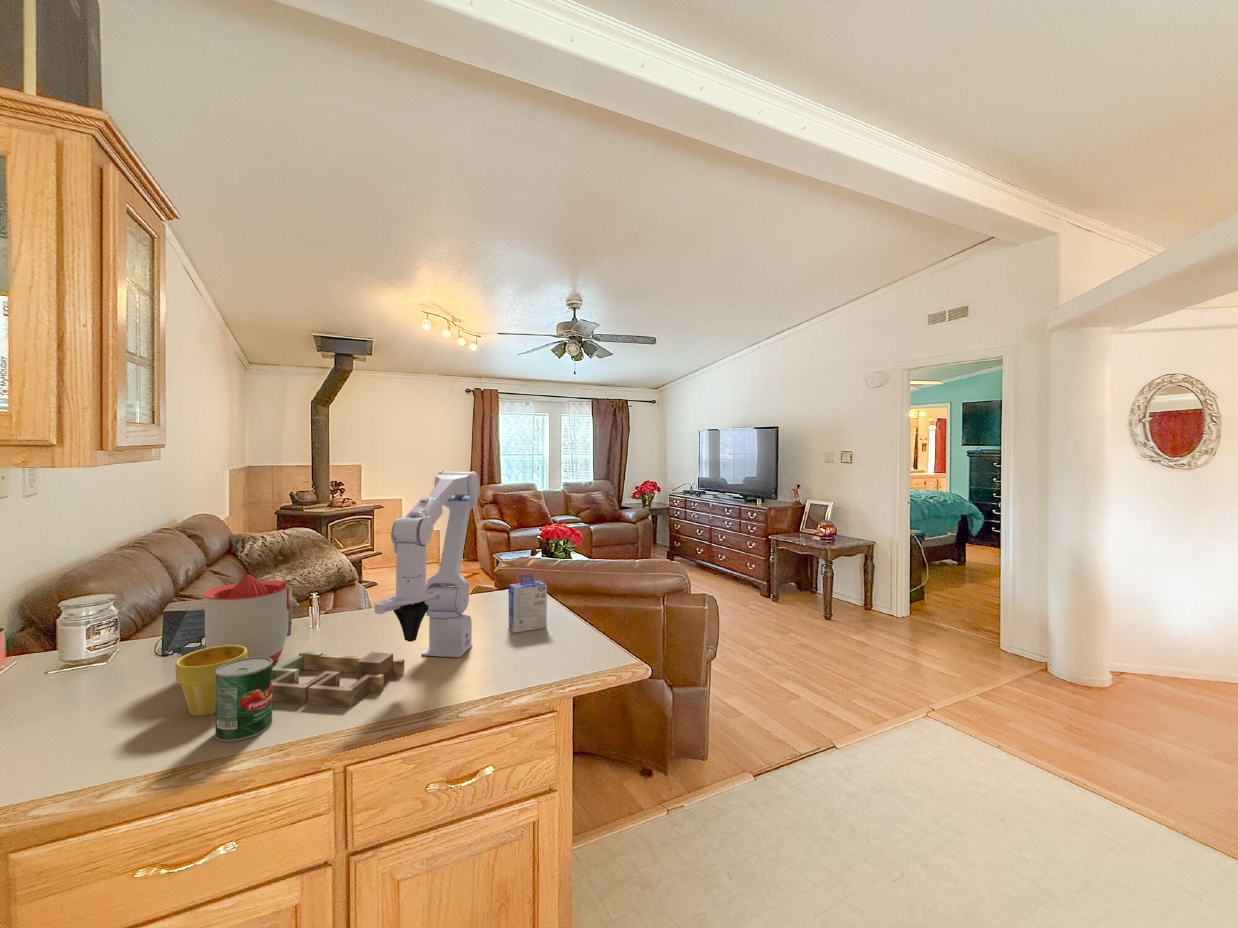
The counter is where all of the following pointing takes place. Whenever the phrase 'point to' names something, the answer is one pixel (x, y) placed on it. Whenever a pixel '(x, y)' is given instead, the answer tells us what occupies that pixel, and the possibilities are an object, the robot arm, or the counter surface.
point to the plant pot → (204, 675)
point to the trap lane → (325, 680)
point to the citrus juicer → (249, 616)
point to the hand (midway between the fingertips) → (410, 639)
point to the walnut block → (376, 665)
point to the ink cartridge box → (527, 605)
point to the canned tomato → (243, 698)
